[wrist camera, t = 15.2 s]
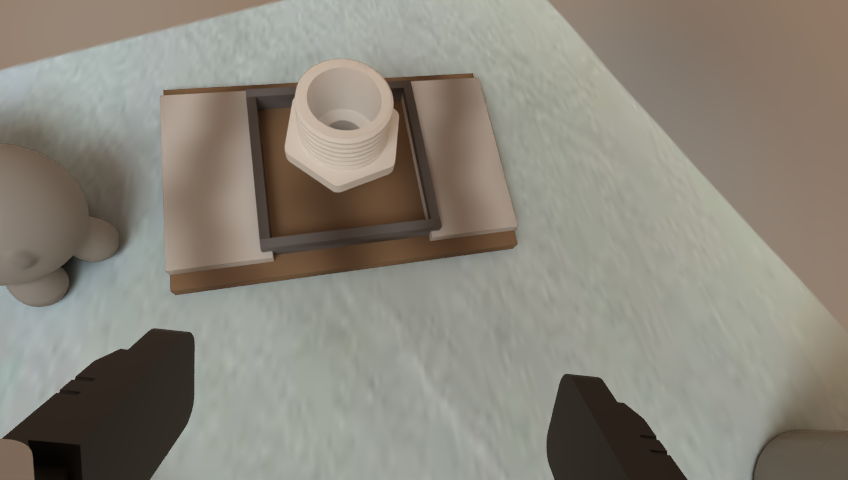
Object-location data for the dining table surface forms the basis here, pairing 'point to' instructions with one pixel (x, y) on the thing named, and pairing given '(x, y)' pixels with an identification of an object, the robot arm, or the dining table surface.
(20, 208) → the chubby cartoon animal
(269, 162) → the base
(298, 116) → the pipe fitting
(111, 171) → the dining table surface
